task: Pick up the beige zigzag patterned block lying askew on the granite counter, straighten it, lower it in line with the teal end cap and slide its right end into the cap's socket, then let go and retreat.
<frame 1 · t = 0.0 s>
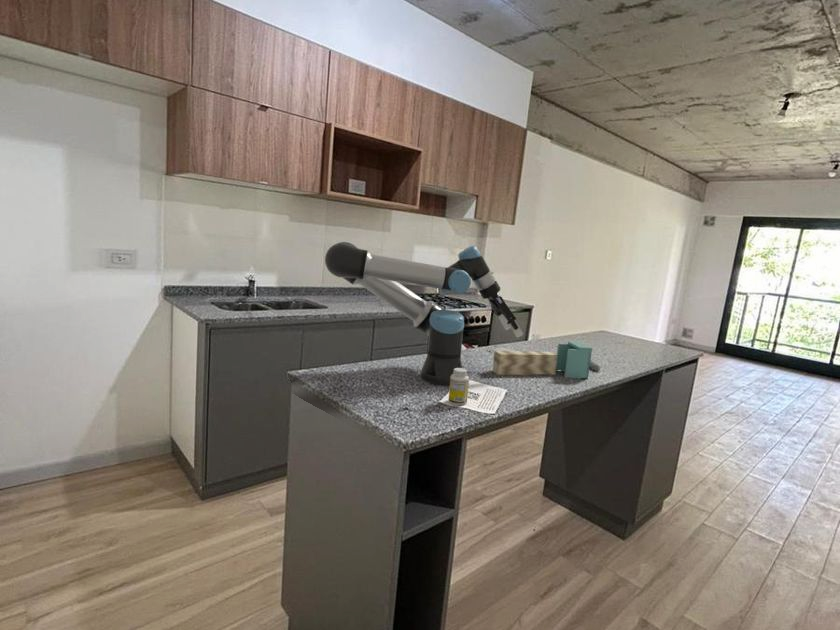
hand: (514, 332, 172), 15 cm above the countertop, tool tilted 35°, fingers open, 13 cm apart
end cap: (570, 374, 176), on the countertop
beige zigzag patterned block: (523, 373, 174), on the countertop
baseboard: (520, 360, 195), on the countertop
supplement bottle: (457, 403, 136), on the countertop
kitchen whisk: (582, 362, 199), on the countertop
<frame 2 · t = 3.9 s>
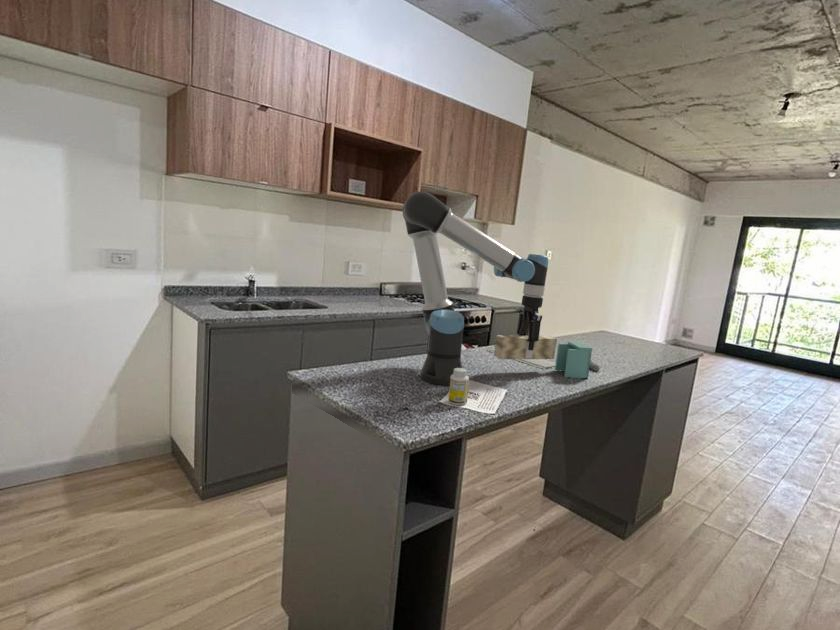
hand: (524, 355, 173), 7 cm above the countertop, tool pointing down, fingers closed on beige zigzag patterned block, 5 cm apart
beige zigzag patterned block: (524, 357, 173), point 6 cm above the countertop, touching gripper
everything else where it was.
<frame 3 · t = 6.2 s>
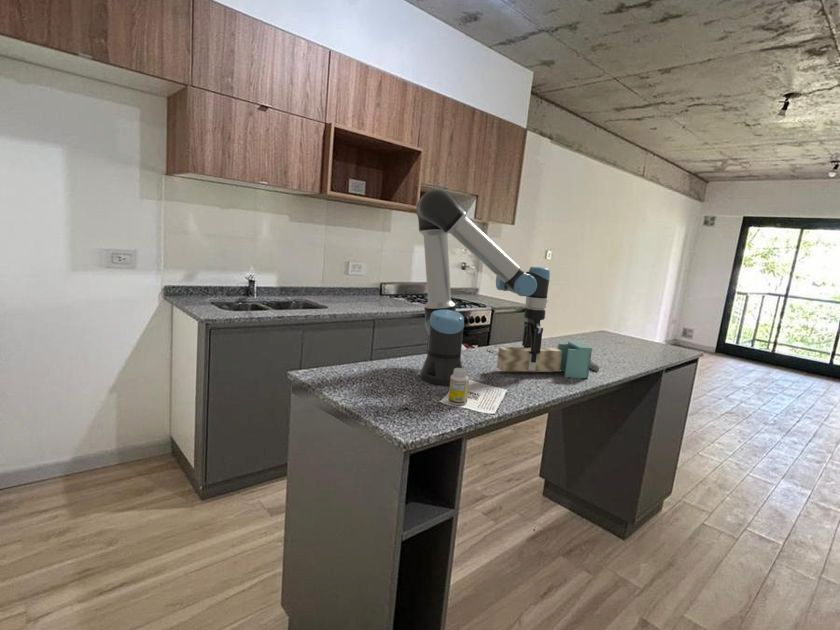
hand: (528, 367, 174), 2 cm above the countertop, tool pointing down, fingers closed on beige zigzag patterned block, 5 cm apart
beige zigzag patterned block: (528, 369, 174), point 1 cm above the countertop, touching gripper
everything else where it was.
when the fingers open (2 cm above the countertop, at t = 8.5 s): beige zigzag patterned block drops 2 cm, on the countertop.
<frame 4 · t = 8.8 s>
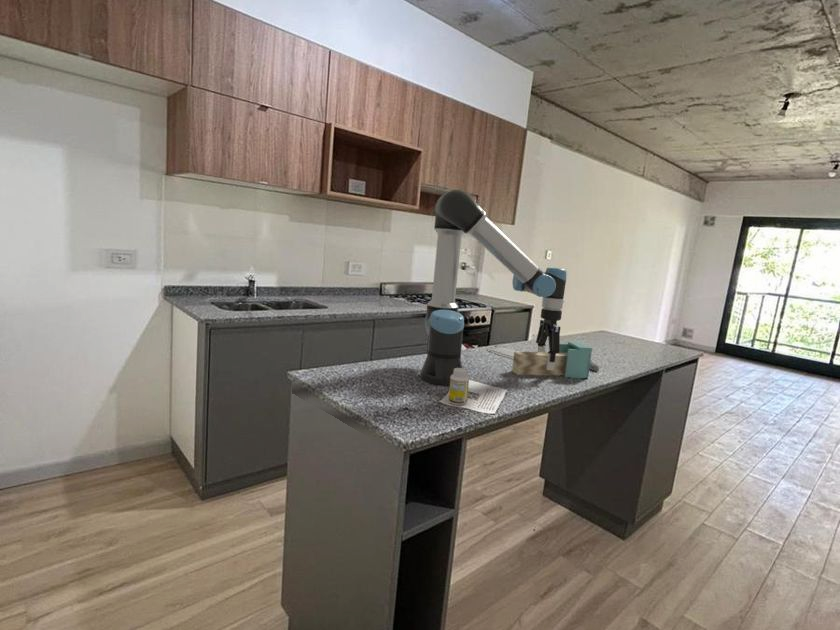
hand: (544, 366, 175), 3 cm above the countertop, tool pointing down, fingers open, 9 cm apart
beige zigzag patterned block: (543, 373, 175), on the countertop
everything else where it was.
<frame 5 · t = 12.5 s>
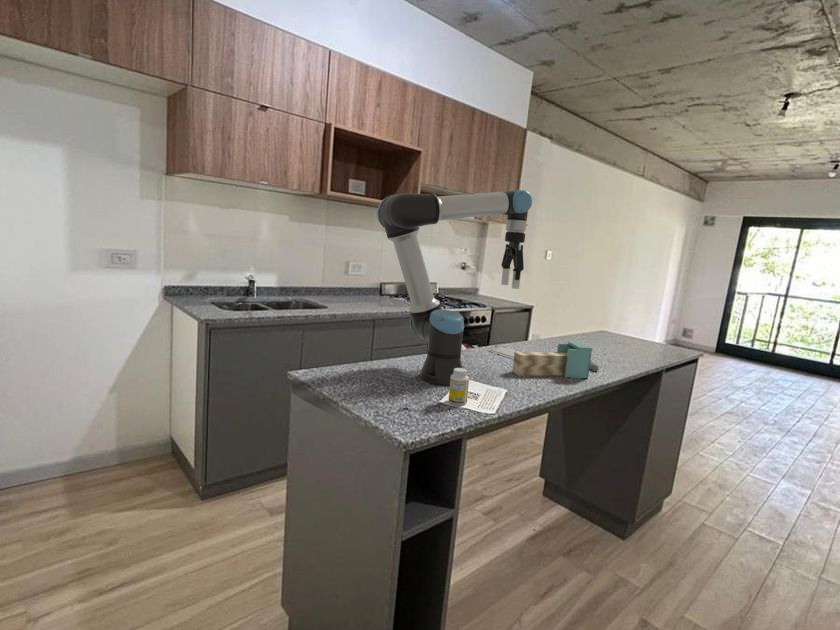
hand: (509, 286, 178), 32 cm above the countertop, tool pointing down, fingers open, 13 cm apart
nothing on the countertop moved.
at the end: beige zigzag patterned block 0.6 cm from the target spot, on the countertop; beige zigzag patterned block tilted 0°; the gripper is holding nothing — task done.
